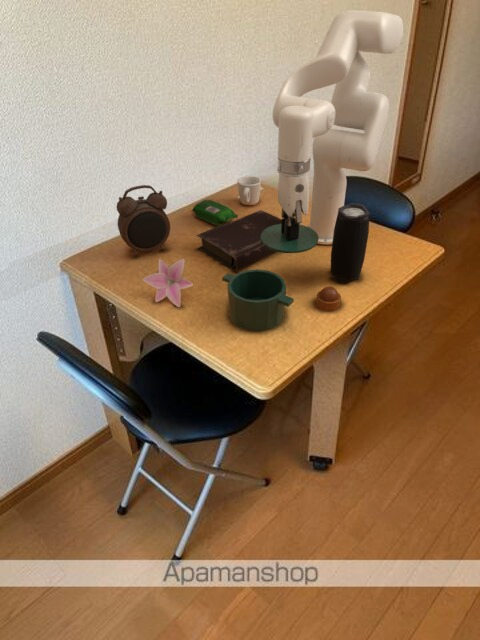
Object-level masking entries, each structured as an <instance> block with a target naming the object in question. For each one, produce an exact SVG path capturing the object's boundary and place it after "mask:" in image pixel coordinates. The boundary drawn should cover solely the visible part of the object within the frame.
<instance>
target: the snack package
mask: <svg viewBox="0 0 480 640" xmlns="http://www.w3.org/2000/svg"><path fill="white" fill-rule="evenodd" d="M191 211H192V212H193V214H194V215H195V216H196V217H197V218H198V219H200V220H203V221H205V222H208V223H210V224H212V225H215V226H216V227H218V226H221V225H224V224H227V223H229V222H231V220H234V219H239V217H238V216H239V215H238V214H236V213H235V211H234V210H233V209H232V208H231V207H229V206H227V205H225V204H222V203H220V202H218V201H215V200H213V199H208V198H207V199H204V200H202V201H199V202H198V203H196V204H194V206H193V208H192V209H191Z"/></svg>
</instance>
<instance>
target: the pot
mask: <svg viewBox="0 0 480 640" xmlns="http://www.w3.org/2000/svg"><path fill="white" fill-rule="evenodd" d="M221 280H222V281H223V282H224V283H225V282H226V283H227V305H228V306H227V307H228V316H229V319H230V321H231V322H232V323H233V324H234V326H236V327H238V328H240V329H243V330H246V331H250V332H251V331H252V332H263V331H268V330H271V329H273V328H275V327H277V326H279V325H280V324H281V323H282V321H283V320H284V318H285V313H286V307H287V308H289V307H290V306H291V305H292V304H293V303H294V301H295V298H293V297H292V296H288V295H287V284H286V282H285V279H284V278H283V277H281V276H280V275H279V274H278V273H276V272H273V271H270V270H267V269H266V270H265V269H257V268H255V269H247V270H244V271H240V272H238V273H236V274H235V275H234V274H231V273H229V272H227V273H226V274H224V275H223V276H222V277H221Z"/></svg>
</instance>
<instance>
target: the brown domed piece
mask: <svg viewBox="0 0 480 640" xmlns="http://www.w3.org/2000/svg"><path fill="white" fill-rule="evenodd" d="M341 301H342V296H341V294H340V293H339V292H338V290H337V289H336V288H335V287H333V286H325V287H323V288H322V289H320V290H319V291H317V293H316V299H315V305H316V307H317V308H318V309H320V310H322V311H325V312H334V311H336V310H338V309H339V308H340V307H341Z"/></svg>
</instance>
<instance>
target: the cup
mask: <svg viewBox="0 0 480 640" xmlns="http://www.w3.org/2000/svg"><path fill="white" fill-rule="evenodd" d="M261 185H262V179H261V178H260V177H258V176H254V175H244V176H242V177H239V178H238V179H237V190H238V198H239V201H240V204H242V205H244V206H254V205H257V204H258V202H259V200H260V196H261V195H260V194H261V187H262V186H261Z"/></svg>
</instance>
